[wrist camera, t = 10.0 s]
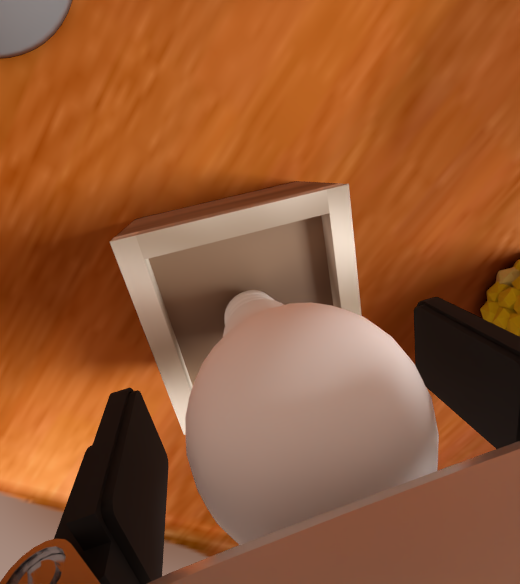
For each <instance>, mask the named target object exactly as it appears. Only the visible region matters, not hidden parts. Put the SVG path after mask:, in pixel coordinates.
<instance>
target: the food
mask: <svg viewBox="0 0 520 584" xmlns="http://www.w3.org/2000/svg"><path fill="white" fill-rule="evenodd" d="M486 293H487V302H486V303H485V304H484V305H483V306H482V307H481V308H480V311H481V314H482V317H483V319H484V320H486V321H488V322H490V323H493V324H495V325H497V326H499V327H501V328H503V329H505V330H507V331H509V332H511V333H513V334H515V335H517V336H519V337H520V259H519V260H517V261H516V262H515V264H514V266H513V267H512V268H508V269H504V270H500V271H499V272H498V273H497V277H496V283H495V284H494V285H493V286H492V287H490V288H489V289H488V290H487V291H486Z"/></svg>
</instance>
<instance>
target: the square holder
mask: <svg viewBox="0 0 520 584" xmlns="http://www.w3.org/2000/svg"><path fill="white" fill-rule="evenodd" d="M110 244H111V247H112V250H113V252H114V255H115V257H116V260H117V262H118V265H119V268H120V270H121V273H122V275H123V278H124V281H125V283H126V286H127V288H128V291H129V294H130V296H131V299H132V301H133V304H134V306H135V309H136V312H137V314H138V317H139V319H140V322H141V325H142V327H143V330H144V332H145V335H146V338H147V340H148V343H149V345H150V348H151V351H152V353H153V356H154V358H155V361H156V363H157V366H158V369H159V371H160V374H161V376H162V379H163V382H164V384H165V387H166V389H167V392H168V395H169V397H170V400H171V402H172V405H173V407H174V410H175V413H176V415H177V418H178V420H179V423H180V426H181V428H182V431H183V433H184V435H185V434H186V424H185V417H186V412H187V407H188V401H189V396H190V393H191V390H192V387H193V384H194V382H195V379H196V377H197V375H198V372H199V370H200V368H201V365H202V363H203V362H204V360H205V359H206V357H207V356H208V354H209V353H210V352H211V350H212V349H213V347H214V346H215V345H216V344H217V343H218V342H219V341H220V340H221V339H222V338H223V333H224V328H225V320H224V315H225V310H226V308H227V305H228V304H229V302H230V301H231V300H232V299H233V298H234V297H235V296H236V295H238V294H240V293H242V292H245V291H249V290H256V291H261V292H264V293H266V294H267V295H269V296H270V297H271V298H273V299H274V300H275V301H278V302H280V303H282V304H284V305H286V304H290V303H309V302H312V303H319V304H325V305H331V306H335V307H338V308H341V309H345V310H347V311H350V312H352V313H355V314H358V315H360V316H362V315H361V305H360V295H359V285H358V274H357V264H356V254H355V244H354V234H353V223H352V213H351V203H350V193H349V184H337V183H318V182H300V181H296V182H292V183H288V184H283V185H279V186H275V187H271V188H266V189H262V190H258V191H254V192H249V193H245V194H241V195H237V196H232V197H228V198H224V199H219V200H215V201H211V202H207V203H202V204H198V205H194V206H190V207H185V208H181V209H177V210H173V211H168V212H164V213H160V214H156V215H151V216H147V217H143V218H139V219H135V220H134V221H133V222H132V223H130V224H129V225H128V226H127V227H126V228H125V229H124V230H122V231H121V232H120V233H119V234H118V235H117V236H115V237H114V238H113V239H112V240H111V241H110Z"/></svg>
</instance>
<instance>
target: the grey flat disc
mask: <svg viewBox="0 0 520 584" xmlns="http://www.w3.org/2000/svg"><path fill="white" fill-rule="evenodd" d="M71 3H72V0H0V58H9V57H14V56H18V55H22V54H25V53H27V52H30V51H32V50H34V49H36V48H38V47H39V46H41V45H42V44H44V43H45V42H46V41H47V40H48V39H50V38H51V37H52V36H53V35H54V34H55V33H56V31H57V30H58V29H59V27H60V26H61V25H62V23H63V21H64V19H65V17H66V16H67V14H68V11H69V8H70V6H71Z"/></svg>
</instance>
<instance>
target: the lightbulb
mask: <svg viewBox="0 0 520 584" xmlns="http://www.w3.org/2000/svg"><path fill="white" fill-rule="evenodd" d="M224 320H225V328H224V333H223V338H222V339H221V340H220V341H219V342H218V343H217V344H216V345H215V346H214V347H213V349H212V350H211V352H210V353H209V354H208V356H207V357H206V359H205V360H204V362H203V363H202V365H201V368H200V370H199V372H198V375H197V377H196V379H195V382H194V384H193V387H192V390H191V393H190V396H189V401H188V407H187V412H186V417H185V424H186V451H187V457H188V460H189V464H190V467H191V470H192V474H193V477H194V480H195V483H196V486H197V490H198V492H199V494H200V495H201V497H202V499H203V501H204V503H205V505H206V507H207V508H208V510H209V511H210V513H211V515H212V516H213V518H214V519H215V521H216V522H217V524H218V525H219V526H220V527H221V528H222V529H223V530H224V531H226V532H227V533H228V534H229V535H230V536H231V537H232V538H233V539H234V540H235V541H236V542H237V543H238V544H240V545H242V544H244V543H247V542H249V541H252V540H255V539H257V538H260V537H263V536H265V535H268V534H271V533H273V532H276V531H278V530H281V529H284V528H286V527H289V526H292V525H294V524H297V523H300V522H302V521H305V520H307V519H310V518H313V517H315V516H318V515H321V514H323V513H326V512H329V511H331V510H334V509H337V508H339V507H342V506H345V505H347V504H350V503H353V502H355V501H358V500H361V499H363V498H366V497H369V496H371V495H374V494H377V493H379V492H382V491H385V490H387V489H390V488H393V487H395V486H398V485H401V484H404V483H406V482H409V481H412V480H414V479H417V478H420V477H422V476H425V475H428V474H431V473H433V472H436V471H437V466H438V437H439V435H438V429H437V424H436V419H435V413H434V408H433V403H432V398H431V396H430V394H429V392H428V390H427V388H426V386H425V384H424V382H423V380H422V378H421V376H420V374H419V372H418V370H417V368H416V366H415V364H414V363H413V362H412V360H411V359H410V358H409V357H408V355H407V354H406V353H405V352H404V350H403V349H402V348H401V347H400V346H399V345H398V343H397V342H396V341H395V340H394V339H393V338H392V337H391V336H390V335H389V334H387V333H386V332H385V331H383V330H382V329H380V328H379V327H378V326H376V325H375V324H373V323H372V322H370V321H369V320H367V319H366V318H365V317H363V316H360V315H358V314H355V313H352V312H350V311H347V310H345V309H341V308H338V307H335V306H331V305H325V304H319V303H312V302H309V303H290V304H286V305H284V304H282V303H280V302H278V301H275V300H274V299H273V298H271V297H270V296H269V295H267V294H266V293H264V292H261V291H256V290H249V291H245V292H242V293H240V294H238V295H236V296H235V297H234V298H233V299H232V300H231V301H230V302H229V304H228V305H227V308H226V310H225V315H224Z"/></svg>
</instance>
